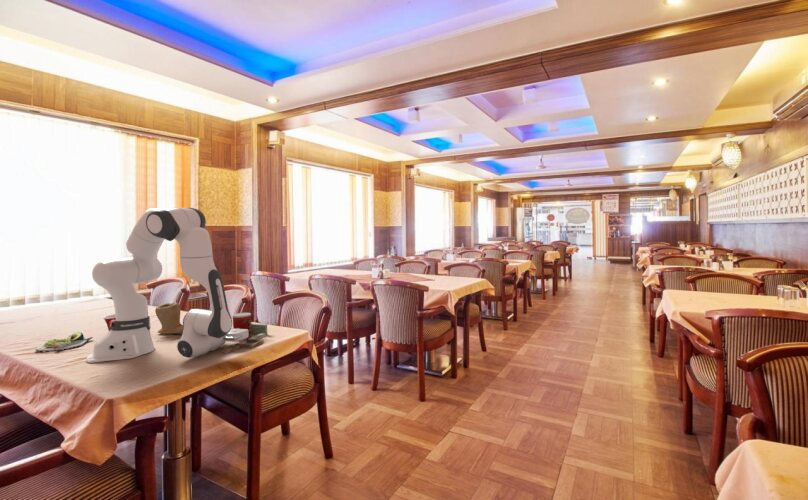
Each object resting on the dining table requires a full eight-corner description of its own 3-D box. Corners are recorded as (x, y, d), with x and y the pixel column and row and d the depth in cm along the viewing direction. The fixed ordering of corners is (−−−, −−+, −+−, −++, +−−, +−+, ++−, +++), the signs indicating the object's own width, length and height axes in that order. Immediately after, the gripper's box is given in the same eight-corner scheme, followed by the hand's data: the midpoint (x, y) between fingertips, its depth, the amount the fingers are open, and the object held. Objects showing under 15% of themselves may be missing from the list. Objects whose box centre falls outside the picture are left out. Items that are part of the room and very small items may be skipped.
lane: (239, 354, 157) (238, 341, 157) (181, 350, 164) (180, 338, 164) (278, 335, 184) (278, 324, 183) (227, 332, 191) (227, 322, 191)
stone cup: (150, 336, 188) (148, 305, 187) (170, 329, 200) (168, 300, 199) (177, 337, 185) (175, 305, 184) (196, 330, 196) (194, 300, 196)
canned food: (246, 340, 176) (245, 316, 176) (230, 340, 177) (228, 316, 177) (255, 336, 184) (254, 312, 183) (239, 335, 185) (238, 312, 184)
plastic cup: (114, 337, 188) (112, 312, 187) (138, 336, 189) (136, 311, 188) (98, 343, 177) (96, 317, 177) (124, 342, 178) (122, 316, 177)
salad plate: (80, 350, 169) (79, 340, 168) (26, 356, 162) (25, 345, 161) (95, 339, 186) (95, 329, 186) (47, 344, 180) (46, 334, 179)
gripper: (235, 331, 160) (256, 323, 174) (193, 329, 166) (217, 321, 179) (236, 346, 161) (257, 337, 174) (194, 344, 166) (218, 335, 179)
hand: (236, 329), depth 177 cm, fingers closed, pressing on canned food
